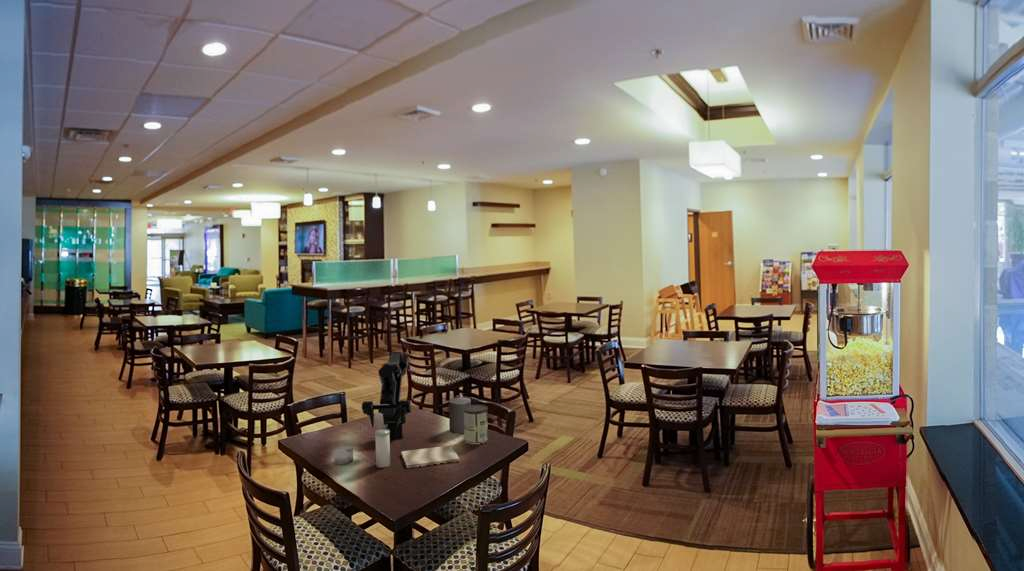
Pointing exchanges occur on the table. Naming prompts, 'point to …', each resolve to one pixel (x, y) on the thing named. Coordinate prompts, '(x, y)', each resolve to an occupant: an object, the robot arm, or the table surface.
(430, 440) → the table surface
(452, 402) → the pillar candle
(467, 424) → the coffee can
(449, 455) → the birch board
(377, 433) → the white cylinder
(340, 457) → the grey tin
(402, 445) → the table surface
